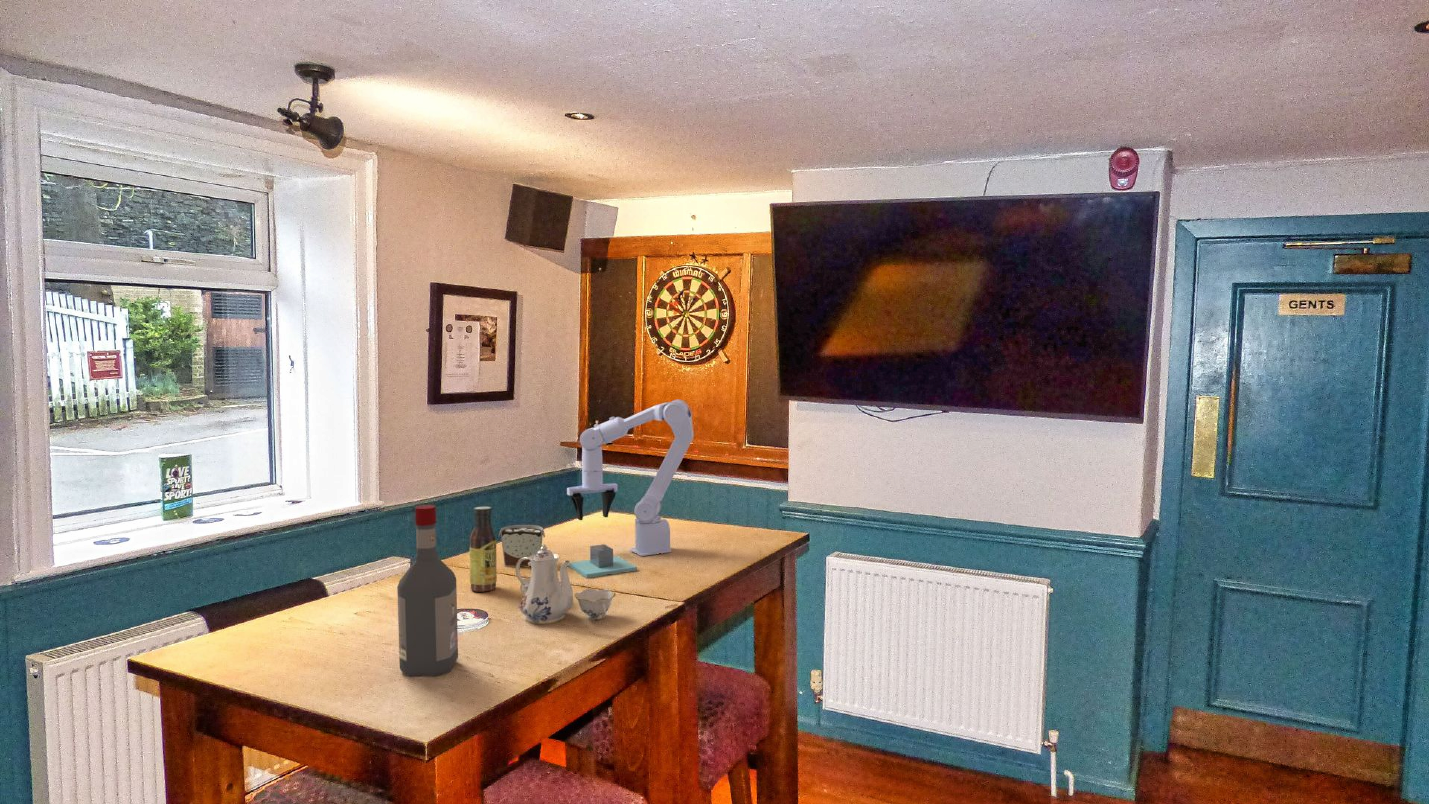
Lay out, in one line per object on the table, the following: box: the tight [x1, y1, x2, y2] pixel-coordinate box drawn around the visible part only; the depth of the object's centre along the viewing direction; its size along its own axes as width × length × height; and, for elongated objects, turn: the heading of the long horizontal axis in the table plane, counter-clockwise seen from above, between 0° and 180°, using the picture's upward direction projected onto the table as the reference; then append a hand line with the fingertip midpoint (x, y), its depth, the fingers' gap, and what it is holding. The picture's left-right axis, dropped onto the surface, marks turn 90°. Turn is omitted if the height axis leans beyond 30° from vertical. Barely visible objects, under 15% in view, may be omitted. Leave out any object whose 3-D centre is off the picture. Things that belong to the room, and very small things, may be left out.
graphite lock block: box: [589, 543, 614, 568], centre depth 229 cm, size 4×6×4 cm, turn 29°
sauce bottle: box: [469, 506, 498, 593], centre depth 210 cm, size 7×6×20 cm
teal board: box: [567, 555, 638, 579], centre depth 229 cm, size 14×13×1 cm
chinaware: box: [515, 543, 616, 625], centre depth 192 cm, size 28×17×17 cm, turn 59°
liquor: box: [397, 504, 459, 678], centre depth 160 cm, size 9×9×30 cm
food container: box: [498, 524, 546, 568], centre depth 234 cm, size 12×6×10 cm, turn 84°
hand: (592, 518), depth 247 cm, fingers open, 7 cm apart
